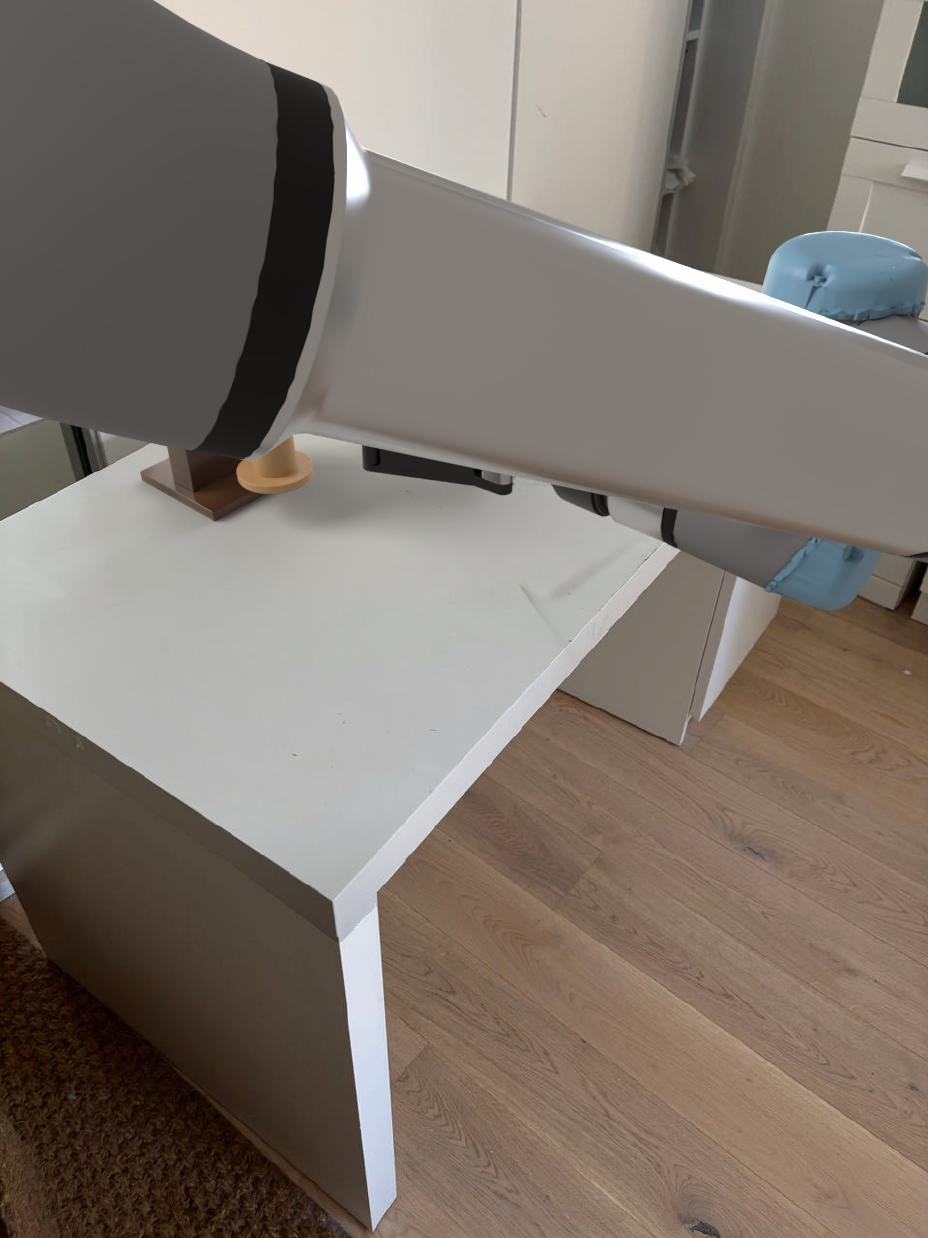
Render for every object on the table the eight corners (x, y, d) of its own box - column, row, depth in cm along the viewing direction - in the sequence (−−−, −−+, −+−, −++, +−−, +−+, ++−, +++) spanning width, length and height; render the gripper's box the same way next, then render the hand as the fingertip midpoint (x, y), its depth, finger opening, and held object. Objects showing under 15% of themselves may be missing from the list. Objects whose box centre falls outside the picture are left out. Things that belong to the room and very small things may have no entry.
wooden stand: (346, 497, 93) (334, 328, 83) (259, 547, 87) (234, 370, 76) (228, 438, 102) (204, 278, 91) (141, 480, 95) (103, 312, 84)
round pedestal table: (236, 508, 85) (208, 354, 76) (219, 460, 91) (192, 313, 83) (335, 488, 87) (320, 337, 78) (312, 444, 94) (295, 299, 85)
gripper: (509, 605, 55) (259, 476, 65) (715, 442, 70) (486, 358, 80) (517, 493, 50) (245, 373, 61) (736, 344, 66) (490, 268, 76)
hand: (382, 364), depth 71 cm, fingers open, 13 cm apart
